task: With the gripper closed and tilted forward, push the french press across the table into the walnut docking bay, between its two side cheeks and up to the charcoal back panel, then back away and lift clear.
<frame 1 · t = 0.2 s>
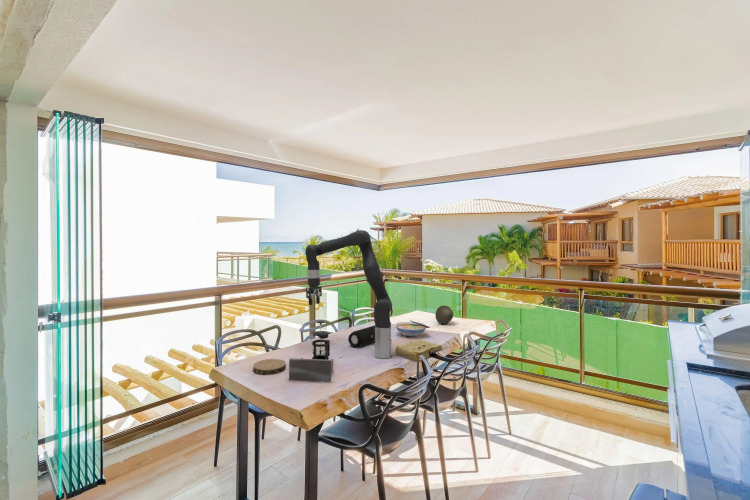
hand: (314, 304, 216), 28 cm above the table, tool pointing down, fingers open, 8 cm apart
portable speaker: (366, 343, 232), on the table
docking bay: (314, 373, 179), on the table
wood slice: (269, 370, 183), on the table
ramen bowl: (410, 335, 253), on the table
dark grey ball: (444, 324, 289), on the table
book: (419, 355, 212), on the table
french press: (320, 364, 192), on the table
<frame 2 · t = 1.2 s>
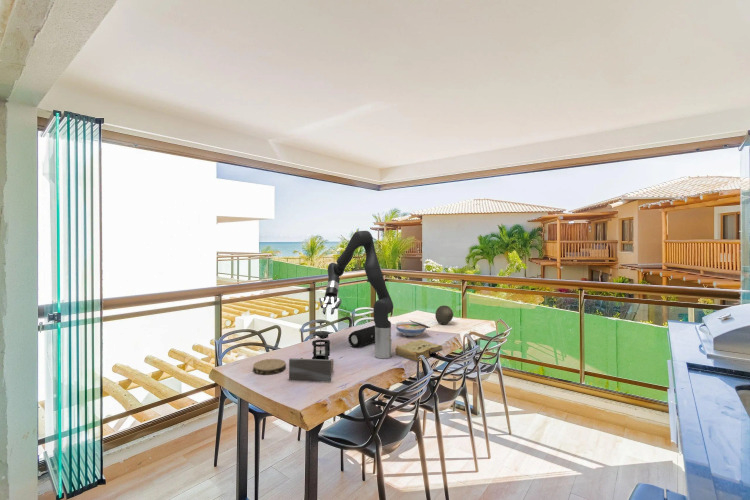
hand: (327, 313, 207), 24 cm above the table, tool tilted 45°, fingers open, 3 cm apart
nothing on the table moved.
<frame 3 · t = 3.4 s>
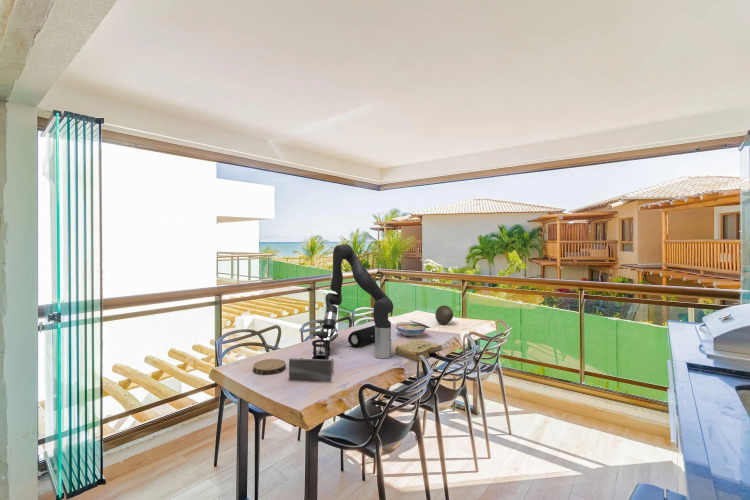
hand: (325, 347, 203), 5 cm above the table, tool tilted 45°, fingers closed
nothing on the table moved.
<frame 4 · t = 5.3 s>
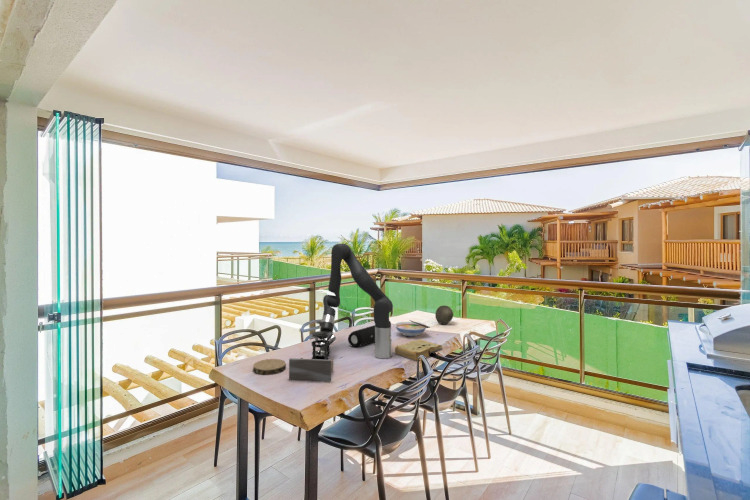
hand: (322, 351, 196), 5 cm above the table, tool tilted 45°, fingers closed
french press: (320, 364, 191), on the table, touching gripper
everything else where it was.
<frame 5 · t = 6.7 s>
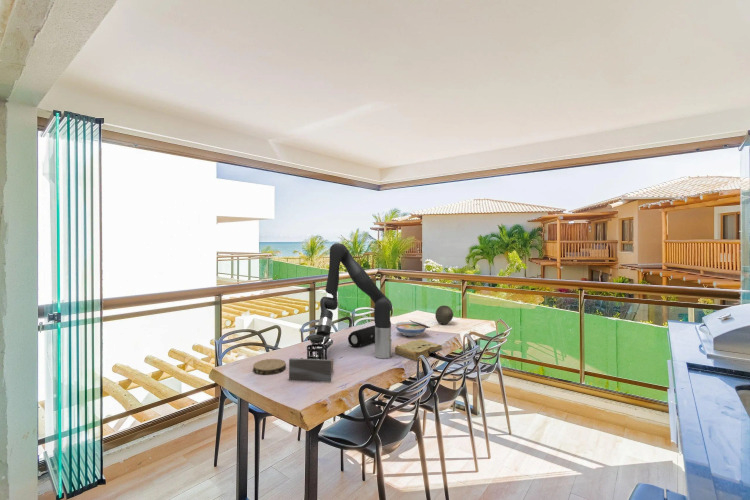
hand: (318, 356, 188), 5 cm above the table, tool tilted 45°, fingers closed
french press: (316, 369, 184), on the table, touching gripper
everything else where it was.
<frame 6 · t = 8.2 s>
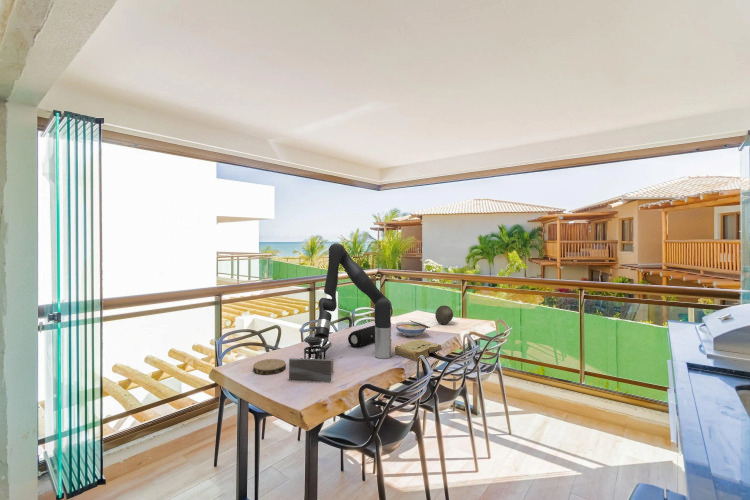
hand: (317, 358, 184), 5 cm above the table, tool tilted 45°, fingers closed
french press: (313, 372, 180), on the table, touching gripper
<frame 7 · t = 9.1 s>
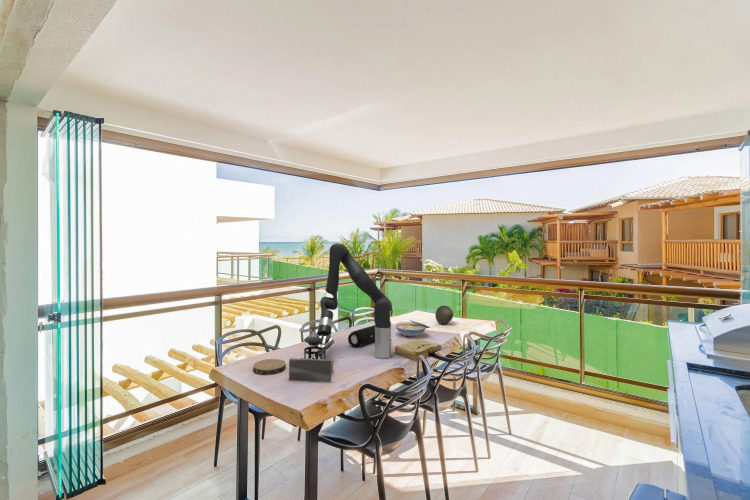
hand: (320, 355, 189), 5 cm above the table, tool tilted 45°, fingers closed
french press: (313, 372, 180), on the table
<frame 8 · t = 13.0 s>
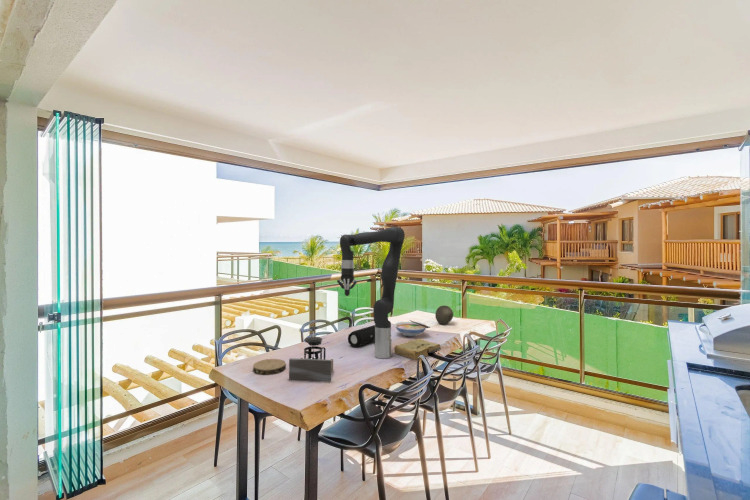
hand: (347, 295, 217), 33 cm above the table, tool pointing down, fingers closed
at the end: french press inside the target area on the docking bay (2.0 cm from its centre), point 0.0 cm above the docking bay's base; french press tilted 0°; french press moved 12.5 cm from its start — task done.
